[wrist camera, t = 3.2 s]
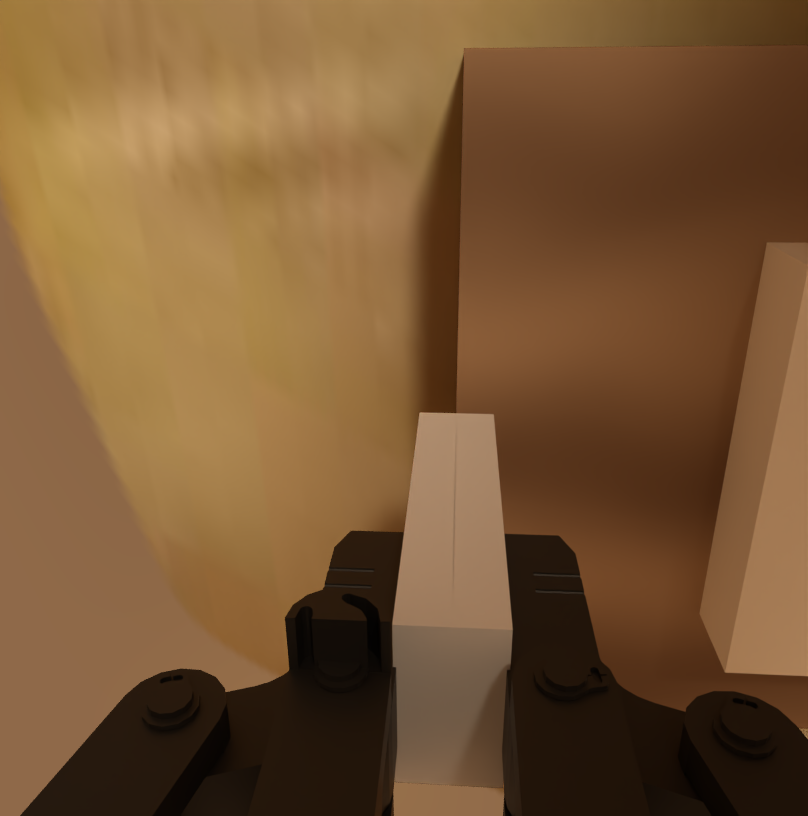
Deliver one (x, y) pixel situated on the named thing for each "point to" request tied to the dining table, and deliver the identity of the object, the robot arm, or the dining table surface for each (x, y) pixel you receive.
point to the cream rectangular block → (766, 488)
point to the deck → (626, 316)
